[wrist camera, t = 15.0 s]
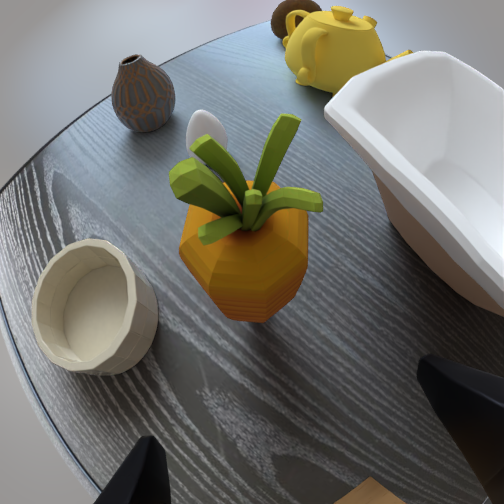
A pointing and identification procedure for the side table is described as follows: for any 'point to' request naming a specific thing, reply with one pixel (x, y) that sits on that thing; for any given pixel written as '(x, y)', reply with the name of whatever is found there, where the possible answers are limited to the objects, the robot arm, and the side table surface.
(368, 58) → the teapot
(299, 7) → the potato
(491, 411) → the robot arm
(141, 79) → the vase
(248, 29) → the side table surface
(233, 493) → the side table surface
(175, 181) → the carrot
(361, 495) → the stand
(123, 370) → the pot
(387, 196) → the bowl
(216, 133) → the egg
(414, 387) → the side table surface
